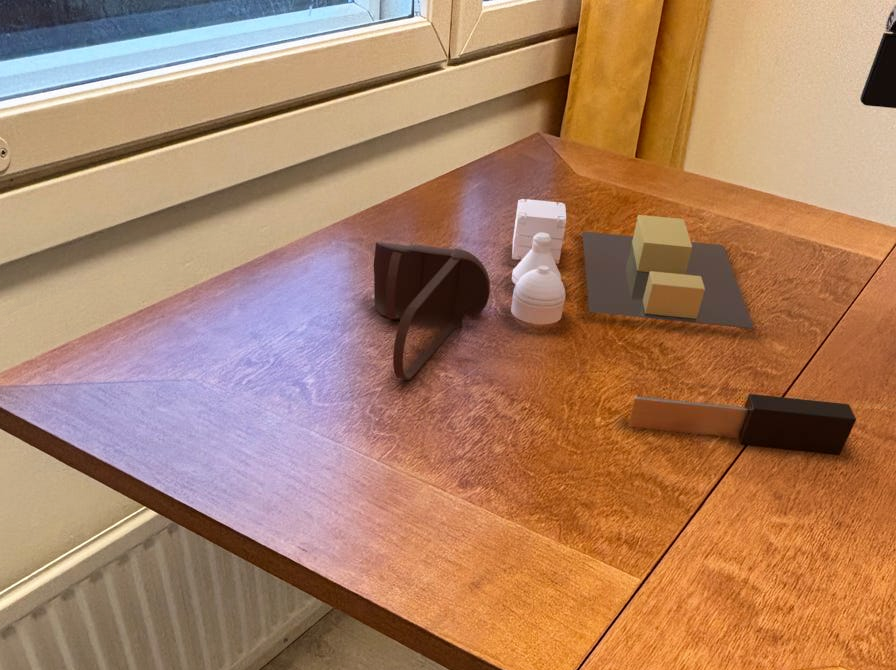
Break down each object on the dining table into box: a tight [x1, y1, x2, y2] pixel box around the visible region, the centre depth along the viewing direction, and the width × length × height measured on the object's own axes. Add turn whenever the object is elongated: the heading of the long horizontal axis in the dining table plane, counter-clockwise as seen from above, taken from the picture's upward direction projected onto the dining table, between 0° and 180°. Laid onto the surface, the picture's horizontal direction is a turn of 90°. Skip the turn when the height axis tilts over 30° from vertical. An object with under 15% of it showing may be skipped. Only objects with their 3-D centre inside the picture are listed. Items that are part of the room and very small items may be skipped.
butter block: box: [632, 214, 692, 275], centre depth 95 cm, size 5×8×3 cm, turn 174°
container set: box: [510, 198, 567, 325], centre depth 89 cm, size 20×5×6 cm, turn 175°
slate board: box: [582, 230, 755, 330], centre depth 94 cm, size 16×21×1 cm
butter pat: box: [643, 271, 705, 319], centre depth 86 cm, size 5×3×3 cm, turn 84°
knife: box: [628, 393, 857, 456], centre depth 72 cm, size 17×2×4 cm, turn 84°
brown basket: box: [373, 241, 491, 381], centre depth 78 cm, size 18×12×7 cm, turn 170°
